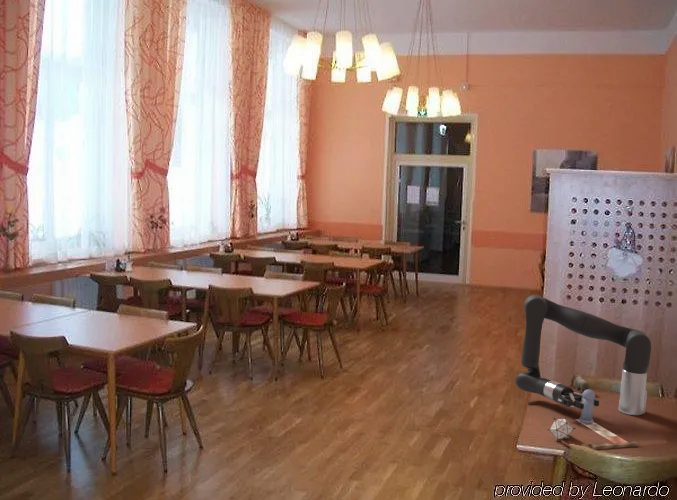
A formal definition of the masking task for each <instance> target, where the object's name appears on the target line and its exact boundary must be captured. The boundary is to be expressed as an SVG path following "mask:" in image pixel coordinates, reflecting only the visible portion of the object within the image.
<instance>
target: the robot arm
mask: <svg viewBox="0 0 677 500" xmlns="http://www.w3.org/2000/svg"><path fill="white" fill-rule="evenodd" d="M523 304H524V305H523V309H524V314H525V334H524V339H523V343H522V344H523V345H522V350H521V351H522V352H521V361H520V363H521V365H522V367H525V368H526V369H527V372H520V373H518V374H516V377H515V378H514V379H515V384H516V387H517V388H518V389H520V390H521V391H524V392H529V393H531V394H533V393H534V394H537V395H540V396H543V397H545V398H547V399H549V400H551V401H554V402H555V403H558V404H560V405H563V406H565V407H568V408H570V407H572V408H574V407H575V408H577V409H580V410H582V409H584V404H583V392H584V391H583V392H581V391H580V392H575V391H574V390H573V388H572V387H570V386H569V385H566V384H563V383H561V382H559V381H555V380H551V379H548V378H546V377H542V376H541V371H540V364H539V362H540V352H541V340H542V339H541V337H542V330H543V324H544V321H545V319H546V320H550V321H552V322H555V323H557V324H559V325H561V326H562V327H564V328H566V329H568V330H569V331H572V332H574V333H575V334H579V335H582V336H584V337H587V338H590V339H591V338H592V339H595V340H604V341H607V342H608V341H609V342H612V343H615V344H617V345H620V346H622V347H624V348H625V355H624V360H623V363H622V372H621V382H620V392H619V402H618V410H619V412H621V413H623V414H626V415H631V416H641V415H643V414H645V413H646V405H647V396H648V391H647V389H646V386H647V377H648V376H647V375H648V368H649V366H650V360H651V354H652V341H651V340H650V338H649V336H648V335H647V334H646V333H645V332H643V331H642V330H639V329H634V328H629V327H626V326H623V325H619V324H615V323H613V322H611V321H609V320H607V319H605V318H602V317H600V316H596V315H594V314H592V313H588V312H586V311H583V310H579V309H576V308H572V307H569V306H565V305H562V304H559V303H556V302H554V301H551V300H550V299H548V298H545V297H543V296H541V295H538V294H532V295H528V297H526V299H525V300H524V303H523ZM579 393H580V394H579ZM594 406H595V407H599V406H600V400H598V399H596V398H595V399H594V405H593V407H594Z"/></svg>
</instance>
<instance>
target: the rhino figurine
mask: <svg viewBox="0 0 677 500" xmlns="http://www.w3.org/2000/svg"><path fill="white" fill-rule="evenodd" d="M573 386H576V388H575V391H579V390H580V392H584V391H585V390H587V389H590V384H589V382H588V381H586V380H585V379H583V378H582V376H577V377H576V376H575V375H574V376H573ZM580 392H578V394H580Z"/></svg>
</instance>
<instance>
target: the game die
mask: <svg viewBox="0 0 677 500" xmlns="http://www.w3.org/2000/svg"><path fill="white" fill-rule="evenodd" d="M553 420H554V421H553V423H552V424H551V426H550V428H549V429H547V431H550V432H551V434H552V435H553V436H554V437H555V438H556V442H558V441H559V440H563V439H565V440H566V439H569V438H570V437H571V434H572V432H573V431H574V430H576V427H573V426H572V425H571V423H570V422H569V421H568V420H567V416H565V417H564V418H557V419H556V418H555V417H553Z"/></svg>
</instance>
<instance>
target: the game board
mask: <svg viewBox="0 0 677 500" xmlns="http://www.w3.org/2000/svg"><path fill="white" fill-rule="evenodd" d="M579 420H580V418H578V419H577V418H576V419H575V421H577V422H578V423H580V424H582V425H584V426H585V427H587V428H589V429H590V430H591V431H593V432H595V433H596V434H599V436H601V437H604V439H607V440H608V441H610V442H605V443H603V442H602V443H592V444H590V443H589V444H587V446H588V447H589V448H591V449H593V448H594V449H593V450H601V449H617V448H628V447H629V448H631V447H638V446H639V443H638V442H636V441H635V440H632V441H631V440H630V441H627V440H625V439H623V438H621V437H620V436H618V435H617V434H615V433H613V432H611V431H610V430H608V429H607V428H605V427H603V426H601V425H600V424H598V423H596V422H594V421H593V424H584V423H581V422H580V421H579Z"/></svg>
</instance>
